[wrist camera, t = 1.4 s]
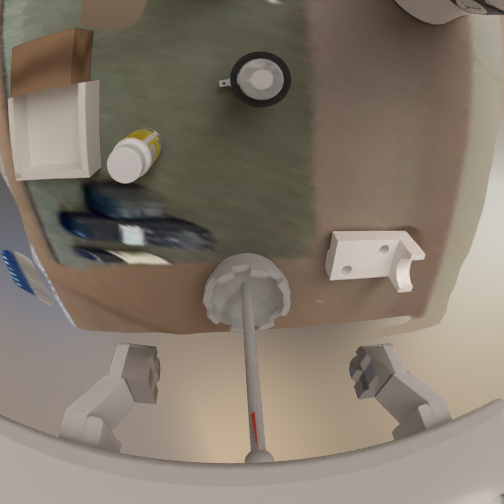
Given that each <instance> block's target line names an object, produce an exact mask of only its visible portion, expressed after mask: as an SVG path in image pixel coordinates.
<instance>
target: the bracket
mask: <svg viewBox="0 0 504 504" xmlns="http://www.w3.org/2000/svg"><path fill="white" fill-rule="evenodd" d="M424 257H425V253H424V252H423V251H422V250H421V248H420V247H419V246H418V245H417V244H416V242H415V241H414V240H413V239H412V238H411V237H410V235H409V234H408V233H407V232H406V231H333V232H332V238H331V244H330V249H328V251H327V257H326V262H325V270H326V272H327V274H328V277H329V279H330V280H343V279H359V278H373V277H387V276H388V277H389V279H390V280H391V282H392V284H393V285H394V287H395V289H396V290H397V292H398V293H399V292H408V291H411V290H412V288H413V286H412V284H411V281H410V276H409V269H410V264H411V262H412V260H424Z"/></svg>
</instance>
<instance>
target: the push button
mask: <svg viewBox="0 0 504 504" xmlns="http://www.w3.org/2000/svg"><path fill="white" fill-rule="evenodd" d="M252 59H255V60H252ZM250 60H251V61H250ZM248 61H249V62H248ZM246 62H248V63H247V64H245V63H246ZM243 64H245V65H244V66H243V67H242V69H241V71H240V73H238V72H239V70H240V68H241V66H242V65H243ZM222 82H225V83H226V84H225V85H223V84H222ZM290 84H291V75H290V71H289V69H288V67H287V65H286V64H285V63H284V61H283V60H282V59H280V58H279V57H278V56H276V55H274V54H271V53H268V52H253V53H249V54H247V55H245V56H243V57H242V58H240V59H239V60H238V61H237V62H236V64H235V65H234V67H233V69H232V71H231V76H230V78H228V79H227V80H220V81H219V85H220V87H224V86H230V87H232V90H233V92H234V93H235V95H236V96H237V97H238V98H239V99H240V100H241V101H242V102H244V103H246V104H248V105H250V106H254V107H268V106H271V105H274V104H276V103H278V102H279V101H281V100H282V99H283V98H284V97H285V95H286V94H287V92H288V90H289V88H290ZM241 91H243V92H244V93H245V94H246V95H247V96H248V97H247V96H246V95H244V94H243V93H242V92H241ZM249 97H250V98H249ZM252 98H253V99H252ZM255 99H256V100H255Z"/></svg>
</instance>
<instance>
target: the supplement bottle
mask: <svg viewBox="0 0 504 504" xmlns="http://www.w3.org/2000/svg"><path fill="white" fill-rule="evenodd" d="M162 147H163V143H162V139H161V137H160V135H159V134H158V133H157V132H156V131H154V130H153V129H150V128H140V129H137V130H135V131H134V132H132V133H131V134H129V135H128V136H127V137H125V138H124V139H122V140H121V141H120V142H118V143H117V145H116V146H115V147H114V149H113V151H112V153H111V154H110V155H109V157H108V160H107V169H108V172H109V174H110V176H111V177H112V178H113V179H114V180H116V181H117V182H120V183H131V182H133V181H135V180H136V179H137V178H139V177H141V176H143V175H144V174H145V173H146V172H147V171H148V170H149V169H150V167H151V166H152V165H153V163H154V162H155V161H156V159H157V158H158V157H159V155H160V154H161V151H162Z"/></svg>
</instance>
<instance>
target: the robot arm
mask: <svg viewBox="0 0 504 504" xmlns="http://www.w3.org/2000/svg"><path fill="white" fill-rule="evenodd" d="M395 1H396V2H397V3H398V4H399V5H400V6H401V7H402V8H403V9H404V10H405V11H407V12H408V13H409V14H411V15H412V16H414V17H416V18H417V19H419V20H421V21H424V22H426V23H430V24H436V25H439V24H445V23H448V22H449V21H451V20H453V19H455V18H458V17H460V16H464V15H467V14H472V13H473V14H483V15H504V0H395ZM356 353H357V355H356V356H355V357H354V358H353V359H352V360H351V362H350V367H349V371H350V376H351V378H352V379H353V380H354V381H355V382H356V383H355V386H354V388H355V391H356V394H357V397H358V399H364V398H371V397H375V398H376V400H377V401H378V402H379V403H380V404H381V405H382V406H383V407H384V408H385V409H386V410H387V411H388V412H389V413H390V414H391V415H392V416H393V417H394V418H395V419H396V420H397V421H398V422H399V423H400V425H398V426H397V427H396V428H395V429H394V430H393V432H392V433H393V437H394V440H393V441H390V442H386V443H383V444H379V445H375V446H371V447H367V448H363V449H358V450H354V451H349V452H344V453H338V454H333V455H327V456H321V457H314V458H307V459H299V460H289V461H277V462H263V463H198V462H182V461H172V460H162V459H154V458H147V457H140V456H134V455H128V454H123V453H120V447H121V443H120V442H119V441H118V439H117V438H116V437H115V436H114V435H113V433H112V430H113V429H114V428H115V427H116V426H117V425H118V423H119V422H120V421H121V420H122V419H123V418H124V416H125V415H126V414H127V413H128V412H129V410H130V409H131V408H132V407H133V406H134V405H135V402H139V403H149V404H156V398H157V392H158V389H157V386H156V383H157V382H158V381H159V378H160V361H159V358H157V348H156V347H154V346H145V345H137V344H130V343H121V342H119V343H118V344H117V345H116V349H115V352H114V356H113V359H112V362H111V366H110V369H109V373H108V376H103V377H102V378H101V379H100V380H99V381H98V382H96V383H95V384H94V385H93V386H92V387H91V388H90V389H89V390H87V391H86V392H85V393H84V394H83V395H82V396H81V397H80V398H78V399H77V400H76V401H75V402H74V403H73V404H71V405H70V406H69V407H68V408H67V409H66V412H65V416H64V419H63V423H62V427H61V431H60V435H59V437H56V436H53V435H50V434H47V433H44V432H41V431H38V430H36V429H33V428H31V427H28V426H26V425H23V424H21V423H18V422H15V421H13V420H11V419H9V418H7V417H4V416H2V415H0V504H504V400H503V399H496V400H493V401H491V402H490V403H488V404H486V405H484V406H482V407H480V408H477V409H476V410H473V411H471V412H469V413H467V414H465V415H462V416H460V417H458V418H455V419H453V420H452V418H451V416H450V413H449V411H448V409H447V407H446V404H445V402H444V400H443V398H442V397H441V396H439V395H438V394H437V393H435V392H434V391H433V390H431V389H430V388H429V387H428V386H426V385H425V384H424V383H422V382H421V381H420V380H419V379H417V378H416V377H415V376H413V375H412V374H411V373H409V372H408V371H407V372H405V370H404V368H403V366H402V364H401V361H400V359H399V357H398V355H397V353H396V351H395V349H394V347H393V345H392V344H390V343H389V344H381V345H380V344H377V345H369V346H361V347H359V348H358V349H357V351H356Z"/></svg>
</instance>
